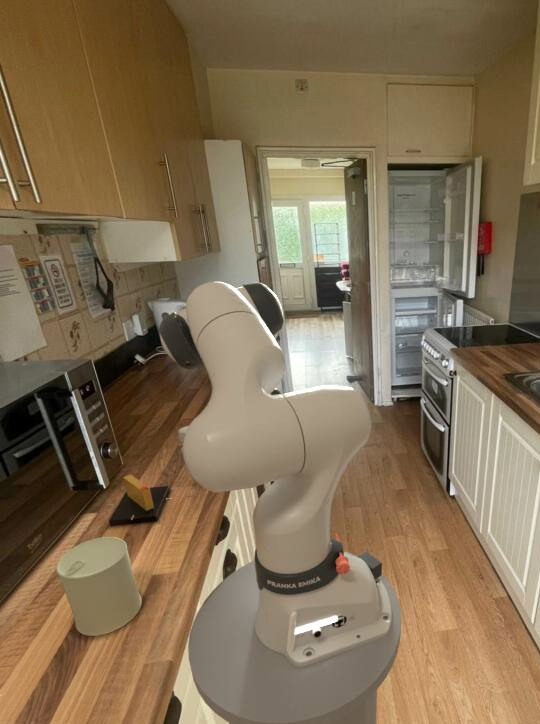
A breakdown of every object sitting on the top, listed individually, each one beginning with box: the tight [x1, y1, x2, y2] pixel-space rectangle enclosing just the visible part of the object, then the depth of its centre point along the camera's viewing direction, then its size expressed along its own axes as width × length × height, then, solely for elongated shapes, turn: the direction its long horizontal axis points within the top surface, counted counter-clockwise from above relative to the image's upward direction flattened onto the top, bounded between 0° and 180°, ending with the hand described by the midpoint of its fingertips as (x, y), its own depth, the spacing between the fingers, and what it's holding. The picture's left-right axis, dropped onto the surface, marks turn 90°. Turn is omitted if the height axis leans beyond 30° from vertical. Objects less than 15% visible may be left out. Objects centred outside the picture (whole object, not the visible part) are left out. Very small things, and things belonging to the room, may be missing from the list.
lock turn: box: [123, 474, 154, 511], centre depth 94 cm, size 9×2×5 cm, turn 52°
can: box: [55, 536, 143, 637], centre depth 67 cm, size 9×9×12 cm
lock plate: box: [107, 485, 174, 527], centre depth 95 cm, size 13×13×2 cm
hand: (184, 452), depth 103 cm, fingers closed
